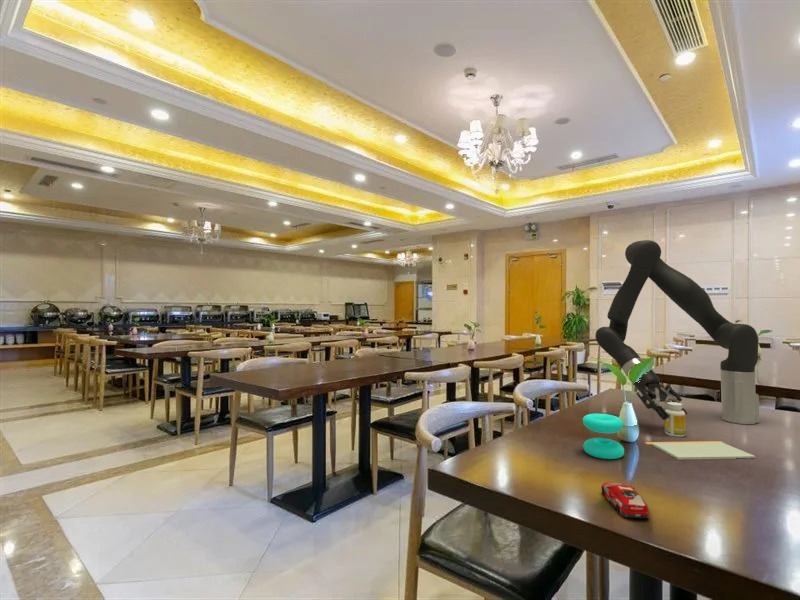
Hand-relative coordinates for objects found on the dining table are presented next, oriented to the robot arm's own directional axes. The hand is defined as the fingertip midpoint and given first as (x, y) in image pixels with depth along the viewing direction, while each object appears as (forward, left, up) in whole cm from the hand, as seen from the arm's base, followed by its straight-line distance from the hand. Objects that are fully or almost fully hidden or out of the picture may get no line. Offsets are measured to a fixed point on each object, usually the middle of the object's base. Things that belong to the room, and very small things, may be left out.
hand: (675, 417), depth 130 cm
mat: (+3, +15, -5) cm, 16 cm away
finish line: (+3, +8, -5) cm, 10 cm away
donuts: (+30, +16, -6) cm, 34 cm away
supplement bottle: (0, 0, -6) cm, 6 cm away
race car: (+40, +45, -6) cm, 60 cm away
